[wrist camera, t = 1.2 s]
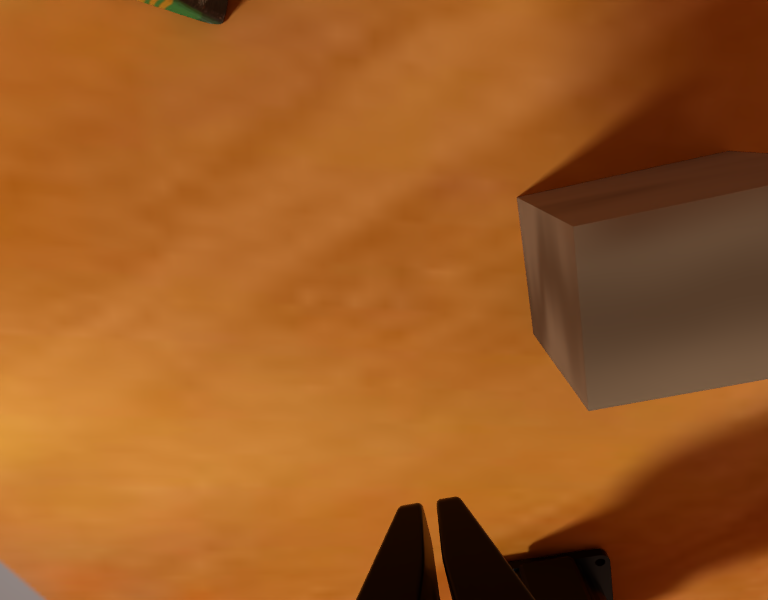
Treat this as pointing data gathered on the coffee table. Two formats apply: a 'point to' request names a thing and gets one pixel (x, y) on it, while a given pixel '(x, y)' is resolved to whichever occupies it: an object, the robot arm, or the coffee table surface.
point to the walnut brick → (652, 278)
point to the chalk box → (194, 8)
